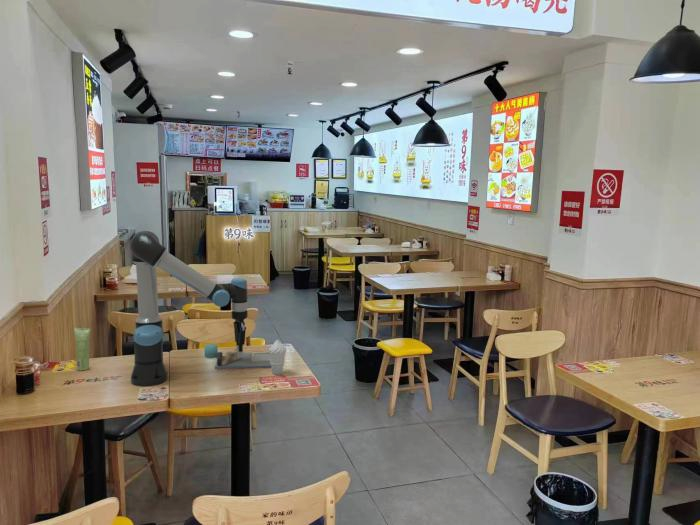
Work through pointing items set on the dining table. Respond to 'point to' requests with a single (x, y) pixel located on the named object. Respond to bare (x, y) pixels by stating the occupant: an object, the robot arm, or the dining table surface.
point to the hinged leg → (226, 357)
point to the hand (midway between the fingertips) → (239, 357)
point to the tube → (82, 348)
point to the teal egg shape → (211, 350)
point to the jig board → (249, 361)
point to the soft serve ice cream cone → (277, 357)
